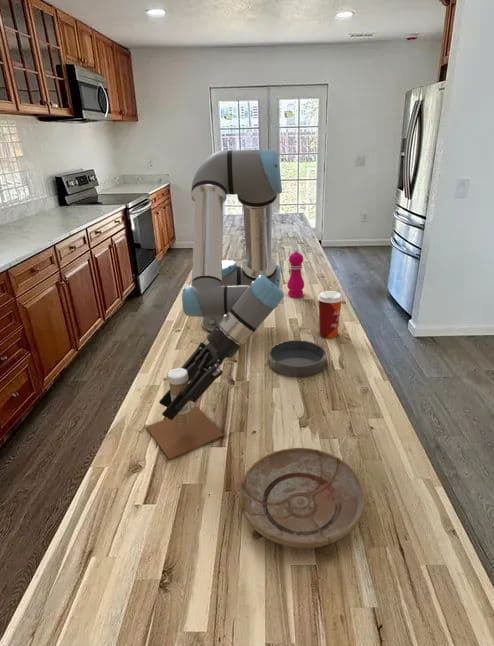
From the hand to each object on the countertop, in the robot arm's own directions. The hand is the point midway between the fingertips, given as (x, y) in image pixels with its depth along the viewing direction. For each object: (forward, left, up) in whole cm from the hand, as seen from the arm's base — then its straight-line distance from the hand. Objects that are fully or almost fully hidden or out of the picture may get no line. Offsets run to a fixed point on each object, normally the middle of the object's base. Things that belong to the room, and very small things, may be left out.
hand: (165, 410), depth 101 cm
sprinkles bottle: (0, +4, -4) cm, 6 cm away
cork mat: (0, +4, -7) cm, 8 cm away
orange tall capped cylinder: (-35, +61, -8) cm, 70 cm away
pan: (-21, +43, -7) cm, 48 cm away
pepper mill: (-75, +66, -8) cm, 100 cm away
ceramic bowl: (+31, +21, -8) cm, 38 cm away
